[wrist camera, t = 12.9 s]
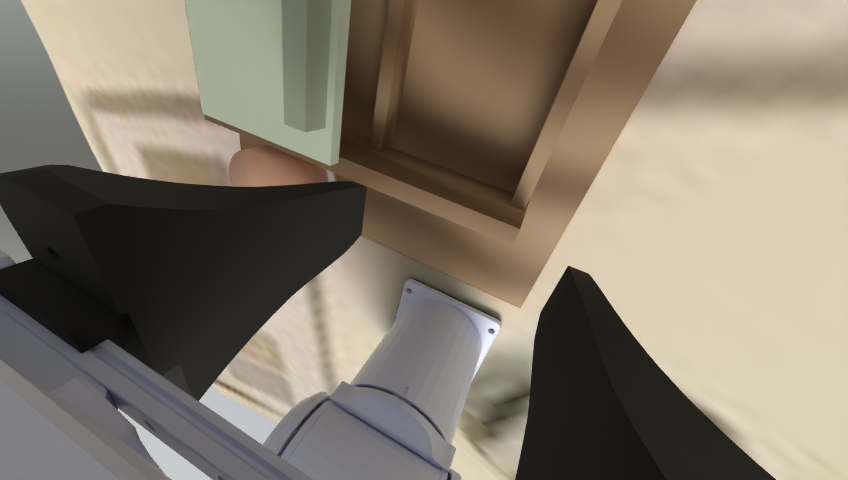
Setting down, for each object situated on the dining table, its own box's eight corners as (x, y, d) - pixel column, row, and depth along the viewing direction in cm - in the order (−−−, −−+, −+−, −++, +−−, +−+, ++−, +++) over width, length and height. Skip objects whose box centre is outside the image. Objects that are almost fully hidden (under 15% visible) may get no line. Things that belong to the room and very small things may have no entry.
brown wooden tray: (521, 304, 21) (510, 354, 17) (249, 180, 27) (194, 197, 23) (747, -94, 11) (851, -195, 7) (218, -166, 16) (105, -244, 12)
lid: (338, 163, 16) (311, 172, 15) (213, 112, 18) (177, 115, 17) (364, -170, 10) (322, -222, 8) (171, -192, 12) (105, -237, 10)
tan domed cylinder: (332, 156, 21) (289, 170, 18) (323, 213, 24) (284, 234, 21) (278, 128, 22) (227, 136, 19) (275, 186, 25) (230, 202, 21)
